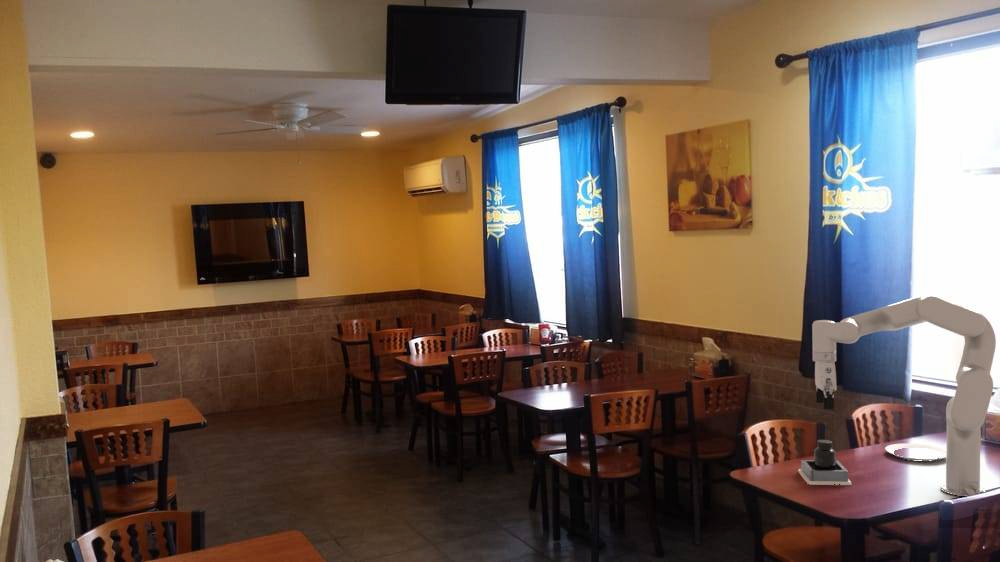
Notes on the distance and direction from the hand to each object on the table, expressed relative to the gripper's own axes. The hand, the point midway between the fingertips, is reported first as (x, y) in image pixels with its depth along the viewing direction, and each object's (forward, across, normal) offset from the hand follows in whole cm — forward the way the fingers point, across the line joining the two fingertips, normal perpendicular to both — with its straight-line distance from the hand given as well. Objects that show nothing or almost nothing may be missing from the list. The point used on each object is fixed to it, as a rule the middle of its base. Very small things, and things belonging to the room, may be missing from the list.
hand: (824, 405), depth 277 cm
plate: (+26, +28, -40) cm, 55 cm away
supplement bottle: (+25, 0, 0) cm, 25 cm away
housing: (+26, 0, 0) cm, 26 cm away
